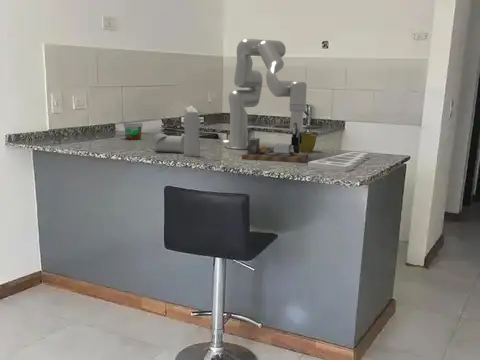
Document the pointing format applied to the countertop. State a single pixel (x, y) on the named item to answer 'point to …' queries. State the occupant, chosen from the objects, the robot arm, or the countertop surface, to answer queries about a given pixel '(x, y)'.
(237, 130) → the robot arm
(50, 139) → the countertop surface
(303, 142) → the flower pot
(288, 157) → the press base
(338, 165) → the holder
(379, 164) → the countertop surface
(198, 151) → the tall pale column
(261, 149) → the nut
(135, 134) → the food container
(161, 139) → the bent grey cylinder
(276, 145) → the ram
